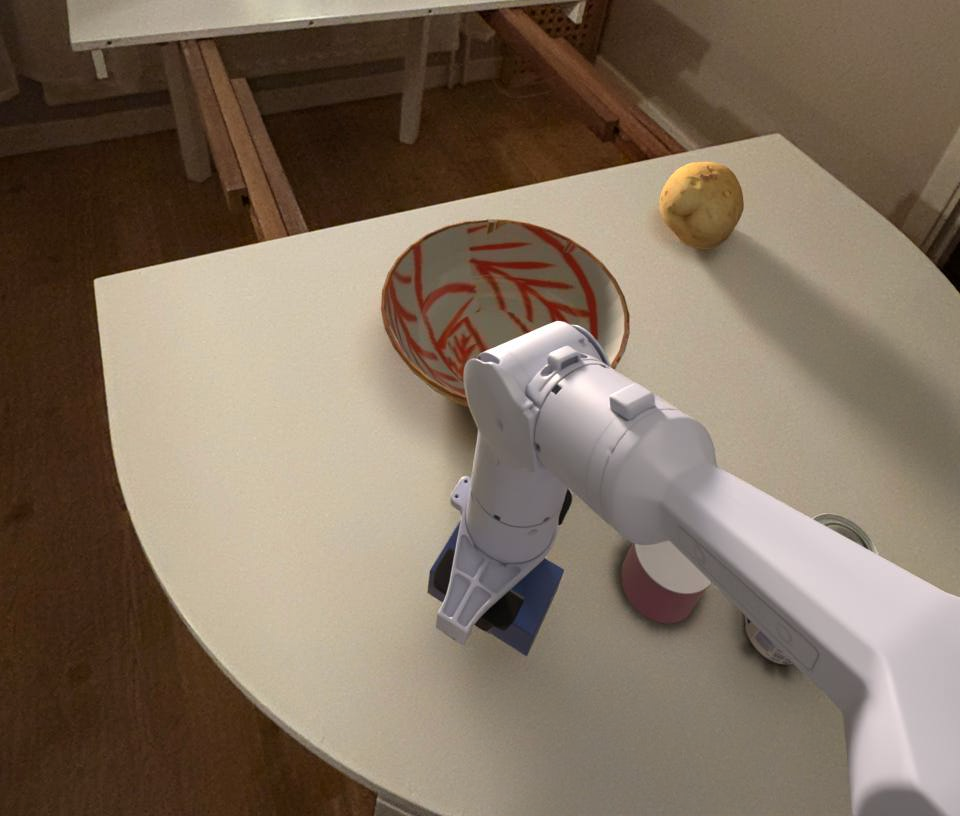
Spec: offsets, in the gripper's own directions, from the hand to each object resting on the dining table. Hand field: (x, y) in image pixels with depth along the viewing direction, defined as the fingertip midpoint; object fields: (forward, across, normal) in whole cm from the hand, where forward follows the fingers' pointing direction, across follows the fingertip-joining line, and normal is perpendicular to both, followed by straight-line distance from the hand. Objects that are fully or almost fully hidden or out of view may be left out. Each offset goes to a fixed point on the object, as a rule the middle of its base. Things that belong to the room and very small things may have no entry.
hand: (495, 581), depth 54 cm
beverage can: (+10, -12, +20) cm, 26 cm away
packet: (+2, 0, 0) cm, 2 cm away
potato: (+10, -57, 0) cm, 58 cm away
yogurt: (+10, -11, +11) cm, 19 cm away
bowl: (+10, -25, -12) cm, 30 cm away
